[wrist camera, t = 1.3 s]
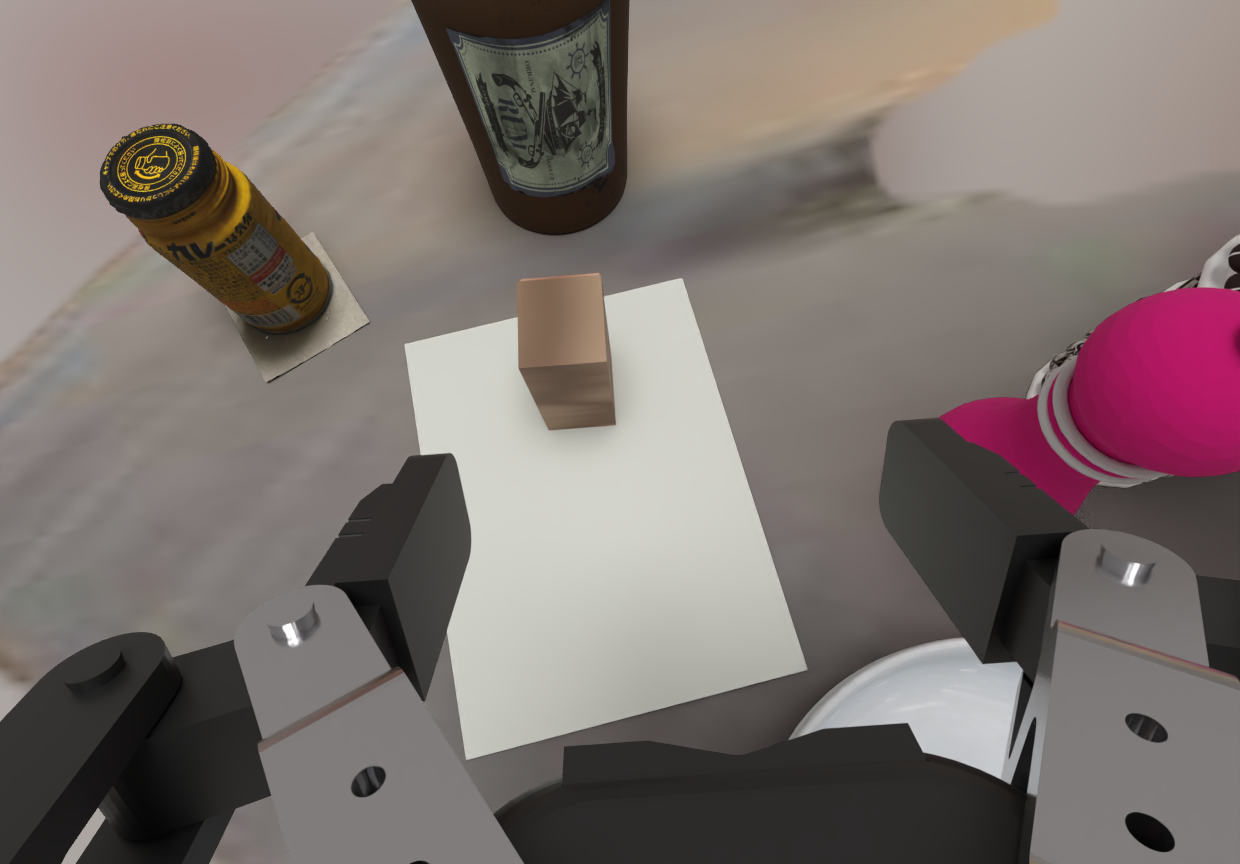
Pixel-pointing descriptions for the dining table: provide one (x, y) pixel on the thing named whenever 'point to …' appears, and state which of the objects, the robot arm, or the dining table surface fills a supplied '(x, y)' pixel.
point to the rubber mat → (599, 534)
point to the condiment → (231, 244)
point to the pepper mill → (1127, 401)
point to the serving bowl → (929, 701)
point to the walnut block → (566, 350)
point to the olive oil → (540, 101)
